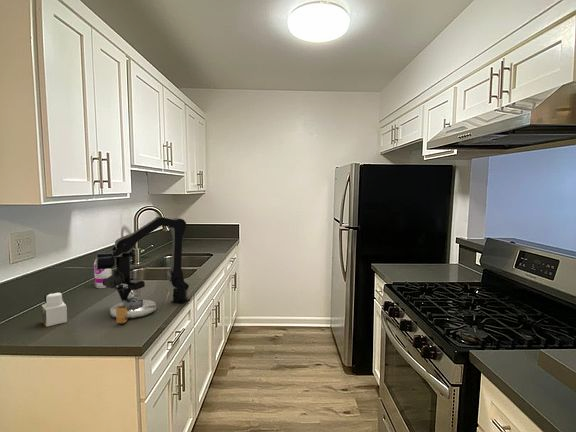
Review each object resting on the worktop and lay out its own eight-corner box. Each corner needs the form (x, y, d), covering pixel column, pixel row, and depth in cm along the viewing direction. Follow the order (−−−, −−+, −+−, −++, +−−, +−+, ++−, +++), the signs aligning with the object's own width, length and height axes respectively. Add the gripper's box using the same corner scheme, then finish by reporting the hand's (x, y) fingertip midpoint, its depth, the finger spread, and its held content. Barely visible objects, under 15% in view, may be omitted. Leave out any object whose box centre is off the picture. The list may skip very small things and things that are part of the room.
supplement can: (104, 289, 186) (103, 261, 185) (91, 288, 188) (90, 260, 187) (115, 285, 194) (114, 258, 193) (102, 284, 196) (101, 257, 195)
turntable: (120, 304, 160) (120, 291, 159) (160, 303, 161) (160, 290, 160) (96, 323, 137) (96, 308, 136) (144, 322, 138) (143, 307, 138)
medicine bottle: (42, 322, 140) (40, 292, 139) (63, 317, 145) (61, 289, 144) (46, 327, 135) (44, 296, 134) (67, 322, 140) (66, 292, 139)
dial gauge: (132, 301, 166) (132, 287, 166) (139, 302, 165) (138, 288, 164) (126, 303, 163) (126, 289, 162) (133, 304, 161) (132, 290, 161)
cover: (133, 302, 156) (132, 294, 156) (147, 304, 153) (146, 296, 153) (118, 308, 149) (118, 299, 148) (133, 310, 146) (133, 302, 146)
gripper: (91, 268, 147) (92, 304, 149) (124, 273, 141) (125, 311, 142) (113, 263, 158) (113, 297, 159) (145, 267, 151) (145, 302, 152)
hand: (124, 302), depth 153 cm, fingers closed
